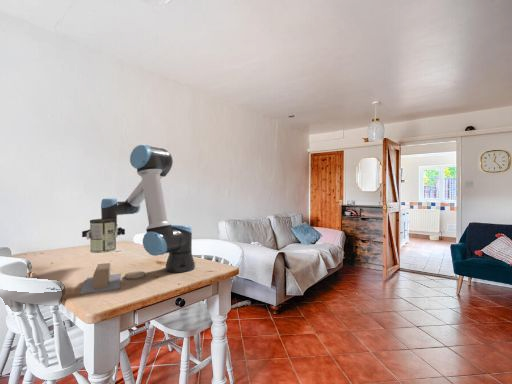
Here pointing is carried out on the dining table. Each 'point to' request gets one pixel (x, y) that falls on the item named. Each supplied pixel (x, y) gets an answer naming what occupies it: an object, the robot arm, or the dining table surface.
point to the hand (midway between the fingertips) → (102, 235)
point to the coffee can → (102, 235)
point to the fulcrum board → (110, 287)
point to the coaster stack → (135, 275)
